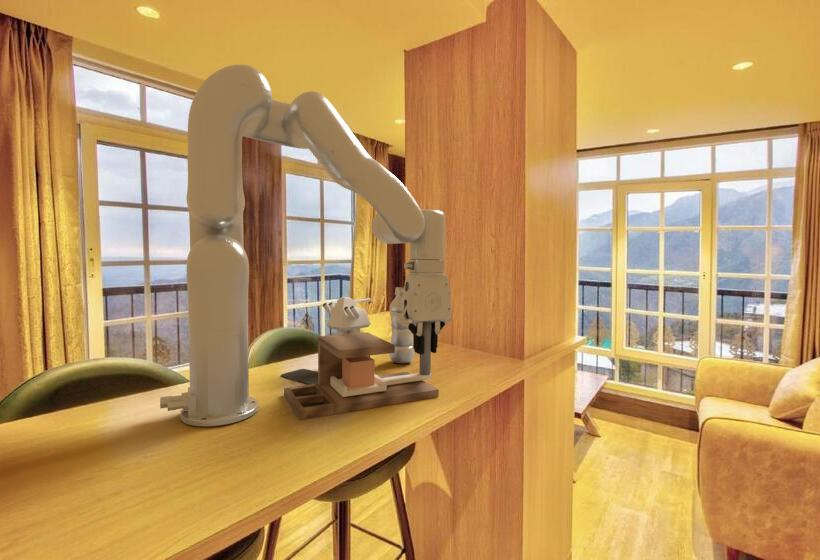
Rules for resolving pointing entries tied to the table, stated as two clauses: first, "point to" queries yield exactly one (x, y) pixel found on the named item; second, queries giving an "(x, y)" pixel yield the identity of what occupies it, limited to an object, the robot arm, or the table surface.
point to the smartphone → (302, 376)
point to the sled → (382, 383)
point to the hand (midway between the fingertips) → (425, 351)
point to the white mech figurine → (347, 315)
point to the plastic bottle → (400, 331)
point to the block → (358, 371)
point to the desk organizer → (323, 396)
